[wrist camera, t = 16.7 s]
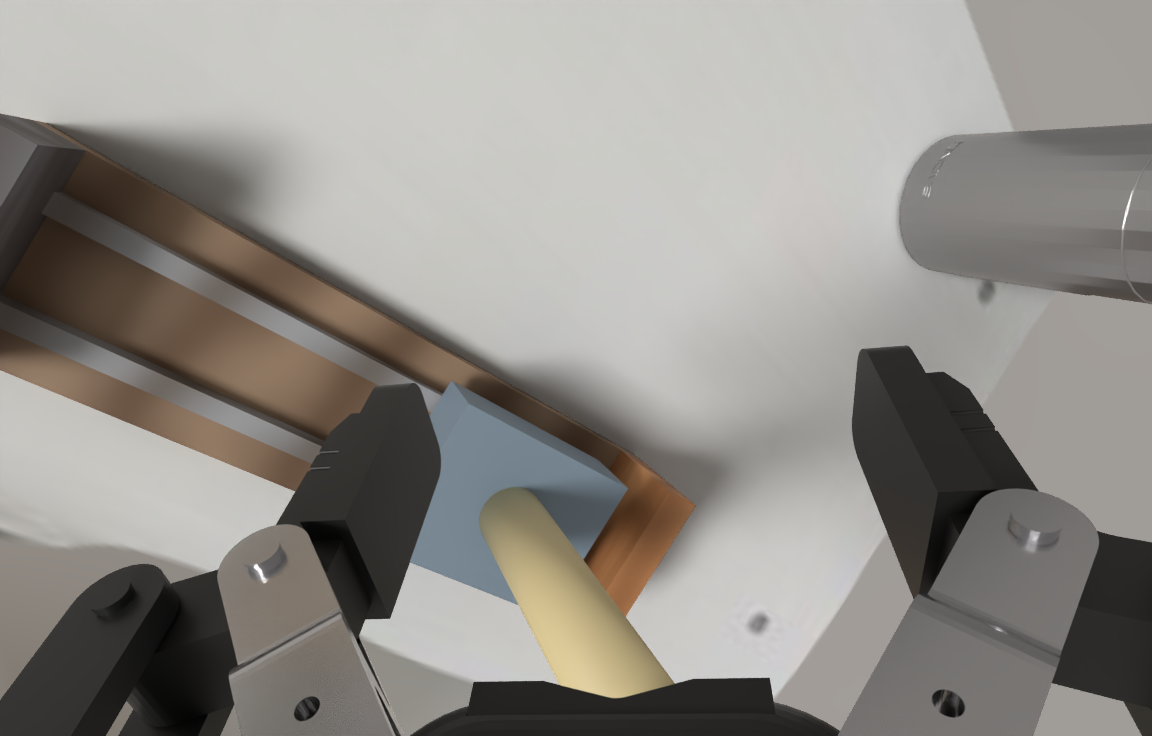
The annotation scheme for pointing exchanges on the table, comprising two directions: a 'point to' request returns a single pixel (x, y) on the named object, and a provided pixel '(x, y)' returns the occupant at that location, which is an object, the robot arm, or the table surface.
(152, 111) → the table surface
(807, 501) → the table surface
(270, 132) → the table surface
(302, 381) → the rail
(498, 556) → the carriage
